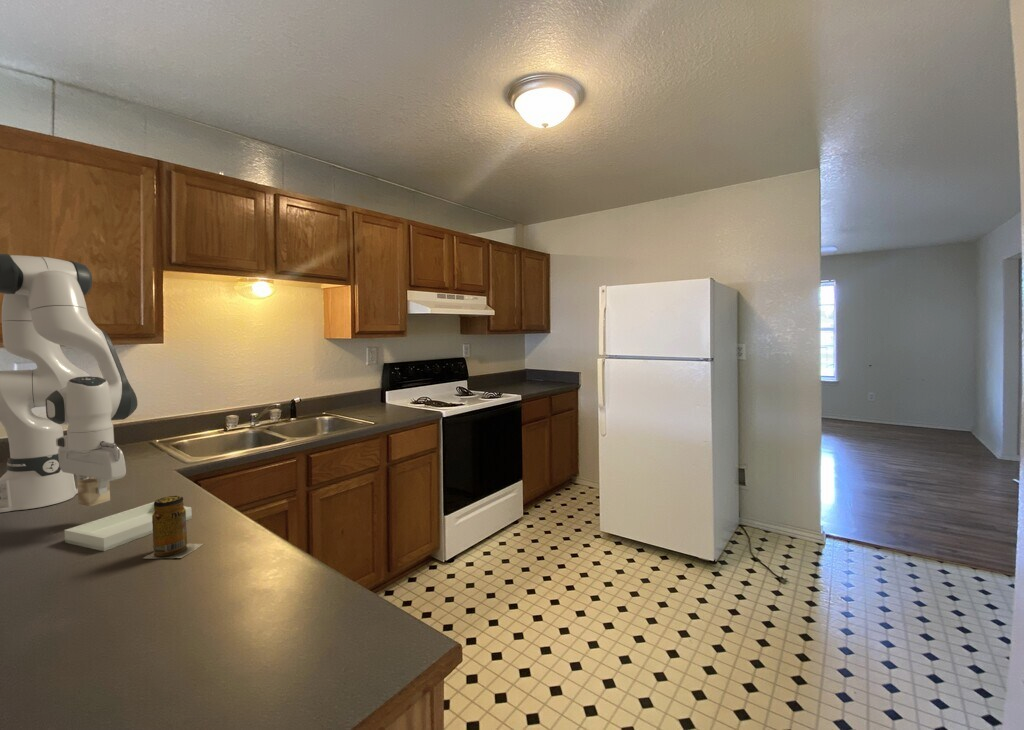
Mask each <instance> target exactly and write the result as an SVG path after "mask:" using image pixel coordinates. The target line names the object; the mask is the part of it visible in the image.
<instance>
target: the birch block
mask: <svg viewBox="0 0 1024 730" xmlns="http://www.w3.org/2000/svg"><path fill="white" fill-rule="evenodd" d="M98 484H99V482H97V478H92V477H88V479H84V480H80V481H78V480H77V484H76V485H77V488H78V493H77V501H78V505H82V506H87V507H93V506H96V505H99V504H103V503H106V502H110V501H111V488H110V483H109V484H108V486H107V493H106V494H102V495H100V494H96V488H97V487H98Z"/></svg>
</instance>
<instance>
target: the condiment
mask: <svg viewBox="0 0 1024 730" xmlns="http://www.w3.org/2000/svg"><path fill="white" fill-rule="evenodd" d="M153 502H154V511H155V512H154V513H153V515H152V524H153V529H152V530H153V533H152V542H153V543H152V544H153V552H152V553H150V554H148V555H146V556H144V557H143V559H146V560H147V559H150V560H151V559H153V560H154V559H155V560H158V559H159V560H160V559H182V558H184V557H186V556H187V555H189V554H191V553H192V552H194V551H196V550H197V549H199V548H200V547H201V546H203V545H204V543H188V536H187V533H188V531H187V521H186V510H185V508H184V507H183V506H185V505H184V504H185V503H184V497H183V496H181V495H169V496H164V497H160V498H158V499H155V501H153Z"/></svg>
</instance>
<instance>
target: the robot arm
mask: <svg viewBox="0 0 1024 730" xmlns="http://www.w3.org/2000/svg"><path fill="white" fill-rule="evenodd" d="M91 272H92V271H91V270H90V269H89V268H88V267H87V266H86V265H84V263H80V262H78V261H73V260H68V261H67V260H63V259H58V258H54V257H53V258H52V257H49V256H48V257H47V256H40V255H39V256H35V255H34V256H33V255H19V254H17V255H16V254H14V255H13V254H11V255H10V254H8V253H0V294H3V299H2V303H1V328H2V329H1V331H2V332H1V333H2V346H3V347H4V349H5V351H7V352H8V353H9V354H12V355H13V356H16V357H20V358H23V359H27V360H29V361H31V362H33V363H35V365H36V368H35V369H19V370H13V369H12V370H0V423H1V425H2V426H3V428H4V430H5V432H6V436H7V440H8V444H9V445H8V447H9V458H7V462H6V472H5V473H4V474H3V475H1V477H0V513H6V512H12V511H21V510H29V509H36V508H42V507H47V506H51V505H56V504H60V503H63V502H66V501H68V500H71V499H72V498H74V497H75V496H76V495H78V487H76V483H75V476H74V475H76V480H77V481H80V480H84V479H88V478H97V482H99V484H98V487H97V488H96V494H100V495H102V494H106V493H107V486H108V484H110V482H111V481H115V480H119V479H123V478H124V477H125V476H126V473H127V467H126V461H125V460H126V459H125V457H124V453H123V451H122V449H121V448H120V447H118V446H117V443H115V433H114V423H113V422H112V421H119V420H120V421H121V420H123V421H124V420H126V419H127V418H129V417H130V416H131V415H133V413H134V412H135V411H136V410H137V409H138V398H137V395H136V393H135V391H134V389H133V387H132V385H131V383H130V382H129V380H128V378H127V376H126V372H125V370H124V368H123V366H122V363H121V361H120V358H119V355H118V353H117V351H116V348H115V346H114V344H113V341H112V340H111V337H110V336H109V334H108V333H107V332H106V331H105V330H104V329H101V328H99V327H98V326H97V325H96V324H95V323H94V322H93V320H92V319H91V317H90V315H89V312H88V306H87V303H86V299H85V295H87V294H89V292H91V289H92V287H93V275H92V273H91ZM61 346H62V347H68V348H72V349H75V350H77V351H82V352H84V353H86V354H88V355H90V356H91V357H92V358H93V359H94V360H95V361H96V364H97V365H98V368H99V370H100V373H101V375H102V377H99V376H92V375H90V374H89V373H88V372H87V371H85V370H83V369H81V368H80V367H78V366H76V365H74V364H73V363H72V362H71V361H70V360H69V359H68V358H67V357H66V355H65V354H64V352H63V351H62V348H61ZM42 407H45V413H46V418H45V417H40V416H39V415H36V414H34V413H33V411H32V409H35V408H42ZM62 425H65V426H67V428H66V435H64V428H63V426H62Z"/></svg>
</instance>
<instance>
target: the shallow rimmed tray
mask: <svg viewBox="0 0 1024 730" xmlns="http://www.w3.org/2000/svg"><path fill="white" fill-rule="evenodd" d="M154 502H155V501H152V502H149V503H145V504H143V505H140V506H137V507H135V508H134V507H133V508H131V509H127V510H124V511H121V512H118V513H114V514H111V515H108V516H104V517H102V518H98V519H95V520H92V521H88V522H85V523H83V524H80V525H77V526H73V527H69V528H67V529H64V542H65V544H70V545H75V546H79V547H83V548H89V549H92V550H95V551H96V550H97V551H101V552H107V551H109V550H111V549H115V548H117V547H119V546H122V545H125V544H128V543H130V542H132V541H135V540H138V539H141V538H143V537H146V536H149V535H153V530H152V529H153V524H152V515H153V513H154V512H155V511H154ZM183 507H184V508H185V510H186V522H187V521H189V520H191V519H193V515H192V514H193V512H192V510H193V509H192V507H191V506H185V505H184V506H183Z"/></svg>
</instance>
